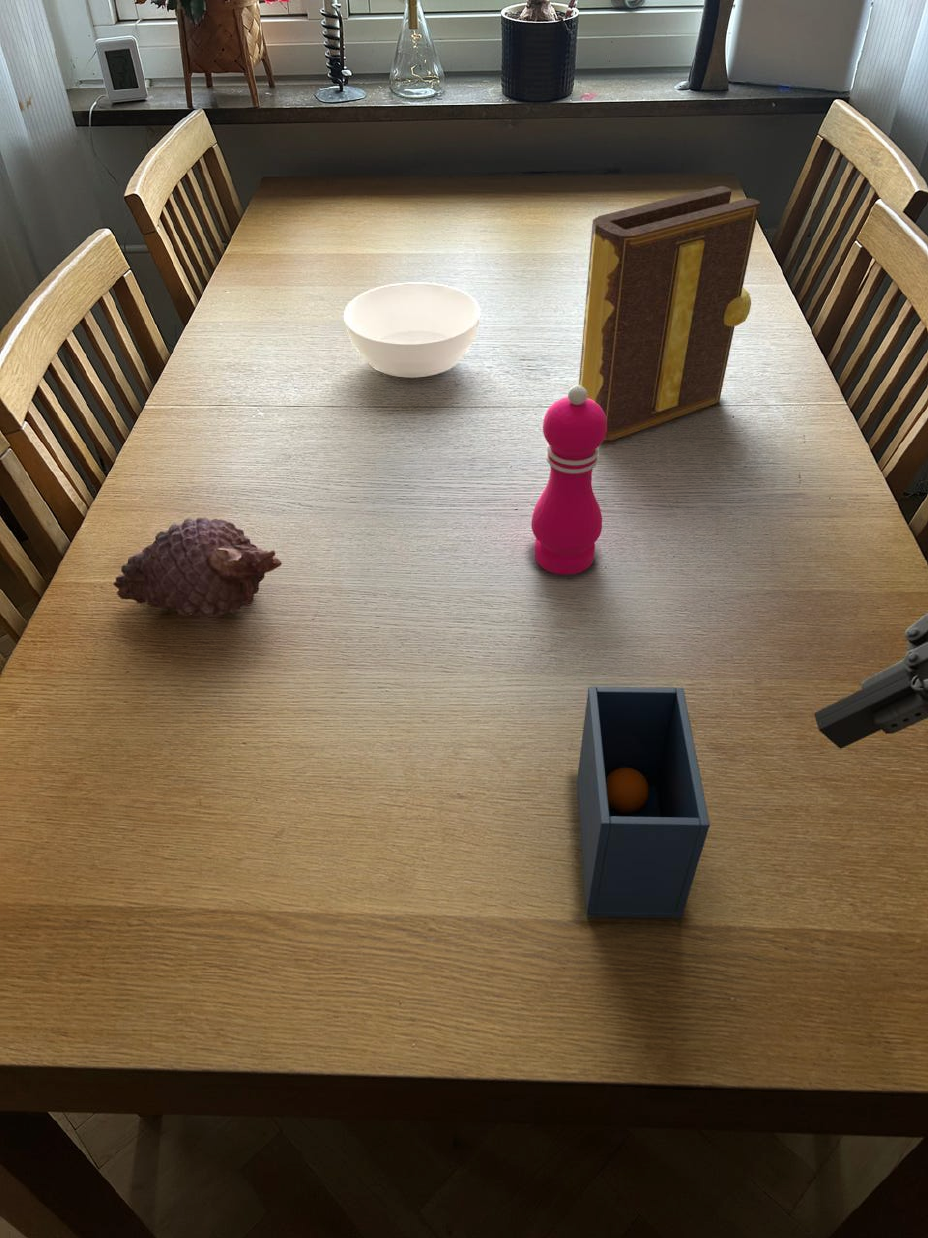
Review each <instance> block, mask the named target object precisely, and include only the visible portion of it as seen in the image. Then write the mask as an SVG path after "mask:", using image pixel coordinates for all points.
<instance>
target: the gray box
mask: <svg viewBox="0 0 928 1238" xmlns="http://www.w3.org/2000/svg"><path fill="white" fill-rule="evenodd" d="M585 703H586V704H585V712H584V719H583V728H582V736H581V744H580V753H579V759H578V760H579V761H578V769H577V777H576V793H577V794H576V795H577V807H578V819H579V820H578V821H579V834H580V847H581V861H582V862H581V863H582V876H583V890H584V891H583V892H584V903H585V913H586V914H585V915H586V917H608V918H609V917H612V918H613V917H614V918H615V917H617V918H656V919H657V918H659V919H661V918H662V919H667V918H668V919H682V918H683V915H684V911H685V909H686V905H687V902H688V898H689V895H690V892H691V889H692V885H693V882H694V879H695V875H696V872H697V868H698V866H699V862H700V859H701V855H702V852H703V848H704V845H705V842H706V839H707V836H708V833H709V829H710V826H711V825H710V820H709V819H710V818H709V814H708V809H707V804H706V797H705V793H704V787H703V782H702V777H701V772H700V767H699V762H698V757H697V752H696V746H695V740H694V736H693V731H692V724H691V721H690V716H689V710H688V704H687V698H686V694H685V688H684V687H683V686H682V687H681V686H679V687H678V686H676V687H674V686H613V685H609V686H608V685H607V686H605V685H597V686H596V685H589V686H588V687H587V694H586V702H585ZM623 767H628V768H632V769H635V770H637V771H638V772H640V773H641V774H642V775H643V776H644V777H645V779H646V781H647V783H648V786H649V796H648V799H647V802H646V803H645V805H644V806H643V807H642V808H641V809H639V810H638V811H636V812H633V813H628V814H625V813H620V812H617V811H615V810H614V809H612V808H611V807H610V806H609V805H608V796H607V786H606V777H607V776H608V775H609V774H610V773H611V772H612V771H614V770H616V769H618V768H623Z"/></svg>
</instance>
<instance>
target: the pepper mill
mask: <svg viewBox="0 0 928 1238" xmlns="http://www.w3.org/2000/svg"><path fill="white" fill-rule="evenodd" d="M606 432H607V420H606V416H605V413H604V411H603V410H602V408H601V407H600V406H599V405H598V404H597V403H596V402H595V401H593V400H591V399H589V398H587V391H586V389H585V388H584V387H582V386H579V384H578V385H573V386H572V387H570V388H569V390H568V393H567V396H564V397H562V398H560V399H558V400H556V401H555V402H553V403H552V404H551V405H550V406H549V407H548V409H547V410H546V412H545V415H544V418H543V422H542V434H543V437H544V439H545V440H546V442H547V445H546V456H545V459H546V461H547V463H548V465H549V466H550V471H549V478H548V481H547V484H546V486H545V488H544V490H543V492H542V493H541V495H540V496H539V498H538V500H537V501H536V504H535V506H534V509H533V512H532V516H531V525H530V526H531V530H532V533H533V535H534V537H535V541H534V559H535V561H536V563H537V564H538V565H539V566H540V567H541V568H542V569H544V570H546V571H547V572H549V573H551V574H556V575H562V576H568V575H575V574H576V575H577V574H579V573H581V572H584V571H586V570H587V569H588V568H589V567H591V565H592V564H593V563H594V560H595V559H594V558H595V552H596V551H595V550H596V542H597V541H598V539H599V538H600V536H601V535H602V530H603V515H602V511H601V507H600V504H599V502H598V500H597V498H596V495H595V493H594V491H593V481H592V480H593V479H592V478H593V476H592V475H593V469H595V467H596V466H597V465H598V463H599V455H600V446H601V445H602V443H604V442H603V441H604V439H605V437H606Z"/></svg>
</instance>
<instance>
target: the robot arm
mask: <svg viewBox="0 0 928 1238" xmlns="http://www.w3.org/2000/svg"><path fill="white" fill-rule="evenodd" d="M904 638H905V639H906V641H907V652H906V653H905V654H904V657H903V658H902V659H901V660H900V661H898V662H896V663H894V664H892V665H890V666H888V667H886V668H884V669H882V670H881V671H878V672H876V673H874V674H872V675H870V676H868V677H867V678H865V679H864V680H863V681H862V682H861V683H860V687H861V689H859V690H857V691H855V692H853V693H851V694H849V695H847V696H845V697H843V698H841V699H838V700H837V701H835V702H833V703H831V704H829V705H827V706H825V707H823V708H821V709H820V710H817V711H815V712H813V716H814V719H815V723H816V726H817V729H818V732H820V733H821V734H823V736H824V737H826V738H827V739H828V740H829V741H831V743H833V744H834V745H835V746H836V747H837V748H839V749H840V750H841V749H844V748H845V747H848V746H850V745H852V744H854V743H856V742H858V741H860V740H861V741H862V740H863V739H865V738H867V737H869V736H871V735H873V734H875V733H878V732H879V731H882V732H884V733H885V735H889V734H890V735H891V734H896V733H898V732H900V731H903V729H906V728H908V727H911V726H913V725H915V724H917V723H919V722H922V721H924V720H926V719H928V612H926V614H924V615H923V616H922V617H921V618H919V619H917V621H915V622H914V623H913V624H910V626H909V627H908V628H907V629H906V630H905V632H904Z"/></svg>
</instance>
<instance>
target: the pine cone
mask: <svg viewBox="0 0 928 1238" xmlns="http://www.w3.org/2000/svg"><path fill="white" fill-rule="evenodd" d="M282 564H283V562H282V560H280V559H279V558H278V557H276V551H275V550H274V549H273V550H271V551H268V550H263V549H262V548H258V546H257V545H256V544H254V543H252V542H251V540H250V538H249V537H248V536H247V535H245V532H244V530H243V529H242V528H237V527H236V525H235V524H234V523H233V522H230V521H227V520H225V519H222V518H221V519H217V518H214V519H211V520H210V519H209V518H207V517H197V518H196V519H193V518H190V517H188V518H186V519H184V520H183V522H182V523H181V524H179V523H178V524H177V523H173V524H171V525H169V528H168V530H167V531H165V530H163V531H160V532H157V533H156V535H155V540H154V541H153V542H152V543H151V544H149V545H147V546H146V547H144V548H143V549H142V551H141V552H138V553H135V554H134V555H133V556H131V555H130V556H129V557H128V558H127V563H125V564H123V565H122V566H121V569H120V571H121V573H122V574H118V575H117V576H116V577H115V581H114V582H113V583H112V584H113V586H114V587H115V588H117V589H118V590H117V592H116V595H117V596H118V597H119V598H120V599H121V600H133V601H135V602H136V603H137V604H147V606H149V607H153V608H159V609H161V610H163V611H171V610H176V611H177V612H178V614H179V615H181V616H186V617H187V616H190V615H191V616H193V617H195V618H197V619H198V618H200V619H206V618H209V617H211V616H214V617H219V616H221V615H225V614H227V613H228V614H235V613H237V612H238V611H240V610H241V608H242V607H246V606H247V605H248V606H249V605H251V604H252V603H253V602H254V597H255V595H256V594H258V592H259V590H260V583H261V582H262V581H263V580H264V579H265V577H266V576H265V575H266V573H270V572H272V571H274V570H276V569H278V568H279V567H281V566H282Z"/></svg>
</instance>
